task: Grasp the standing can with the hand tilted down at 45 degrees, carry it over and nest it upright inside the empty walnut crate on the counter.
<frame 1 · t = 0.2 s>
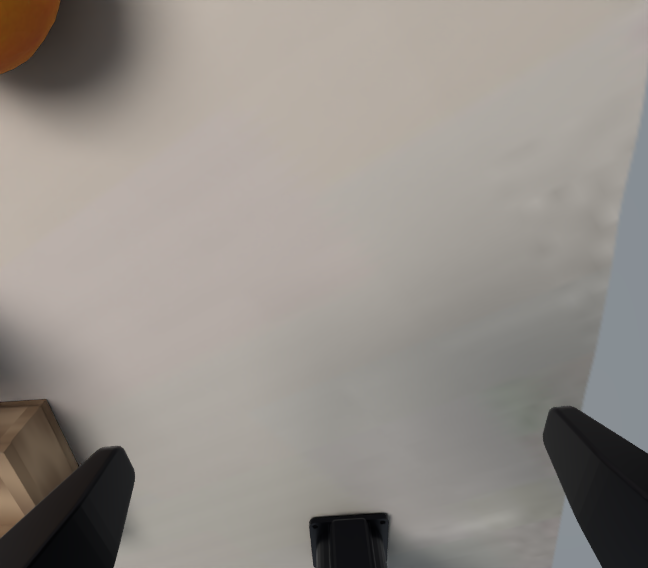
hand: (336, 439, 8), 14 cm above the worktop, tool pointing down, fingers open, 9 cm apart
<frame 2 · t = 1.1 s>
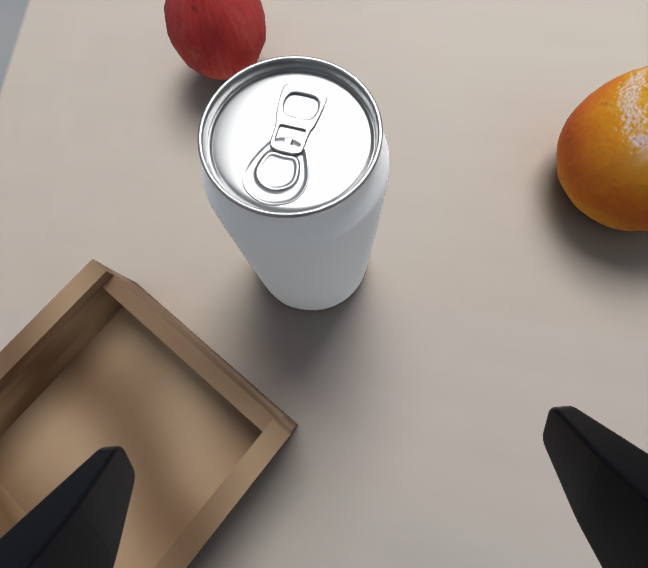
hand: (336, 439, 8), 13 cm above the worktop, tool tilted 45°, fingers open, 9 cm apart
fruit: (603, 185, 24), on the worktop
crate: (132, 442, 21), on the worktop
can: (313, 260, 24), on the worktop
onion: (233, 75, 27), on the worktop
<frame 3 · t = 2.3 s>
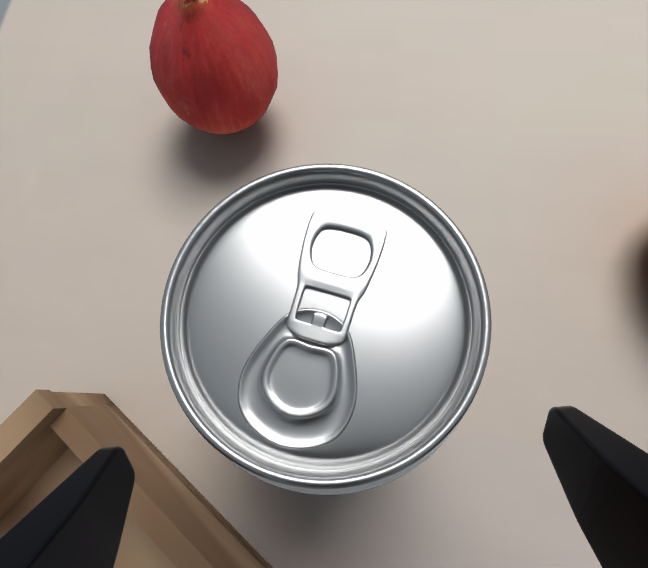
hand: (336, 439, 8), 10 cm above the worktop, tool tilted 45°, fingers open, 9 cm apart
can: (332, 367, 18), on the worktop
onion: (236, 123, 22), on the worktop
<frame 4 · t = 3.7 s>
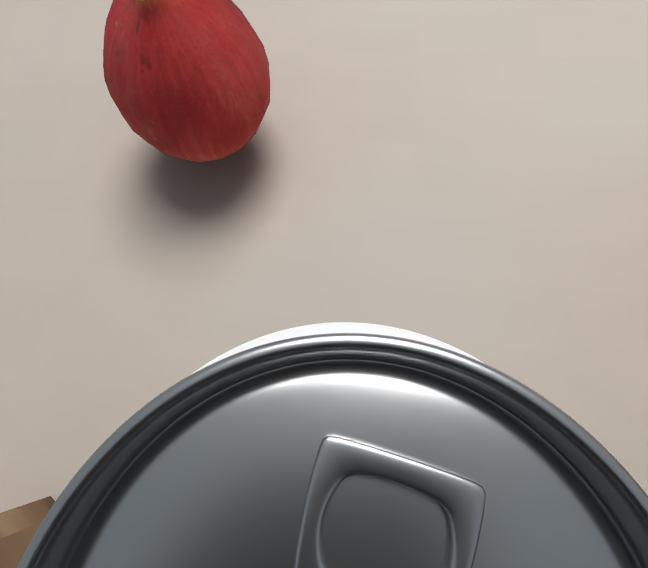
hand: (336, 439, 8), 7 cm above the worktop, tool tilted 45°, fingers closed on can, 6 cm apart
can: (340, 461, 14), on the worktop, touching gripper
onion: (221, 143, 18), on the worktop
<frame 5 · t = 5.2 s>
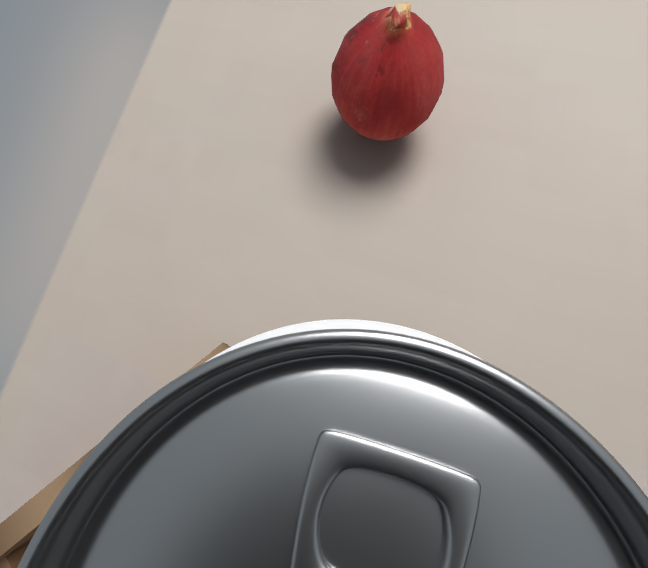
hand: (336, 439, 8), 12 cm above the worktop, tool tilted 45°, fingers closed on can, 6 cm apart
crate: (221, 541, 19), on the worktop
can: (343, 459, 14), point 5 cm above the worktop, touching gripper
onion: (378, 128, 24), on the worktop
when the fingers open (8 cm above the worktop, at t = 6.9 s): can stays where it is, resting on crate.
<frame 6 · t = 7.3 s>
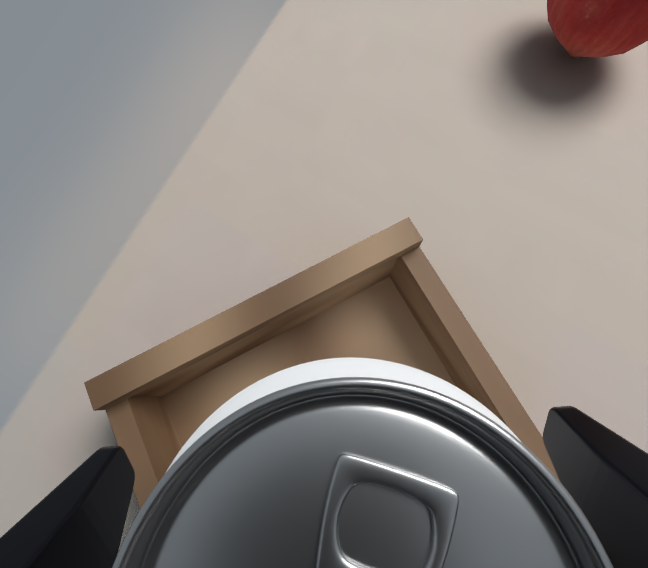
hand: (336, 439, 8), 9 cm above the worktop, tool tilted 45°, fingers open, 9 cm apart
crate: (340, 454, 16), on the worktop
can: (343, 464, 16), resting on crate
onion: (571, 54, 22), on the worktop
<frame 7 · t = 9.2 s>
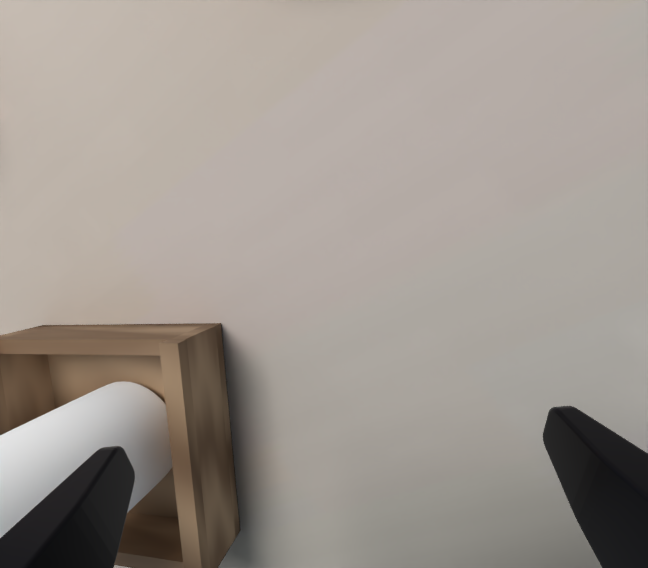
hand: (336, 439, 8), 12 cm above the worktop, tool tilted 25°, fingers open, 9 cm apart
crate: (137, 424, 24), on the worktop
can: (138, 428, 24), resting on crate
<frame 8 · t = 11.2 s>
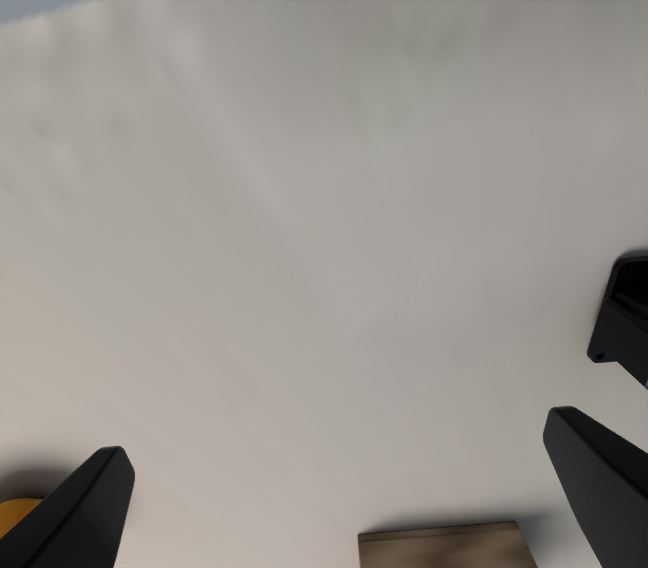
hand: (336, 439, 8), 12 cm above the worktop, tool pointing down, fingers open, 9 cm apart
fruit: (46, 513, 29), on the worktop
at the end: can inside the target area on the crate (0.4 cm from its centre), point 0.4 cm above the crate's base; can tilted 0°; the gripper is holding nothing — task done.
